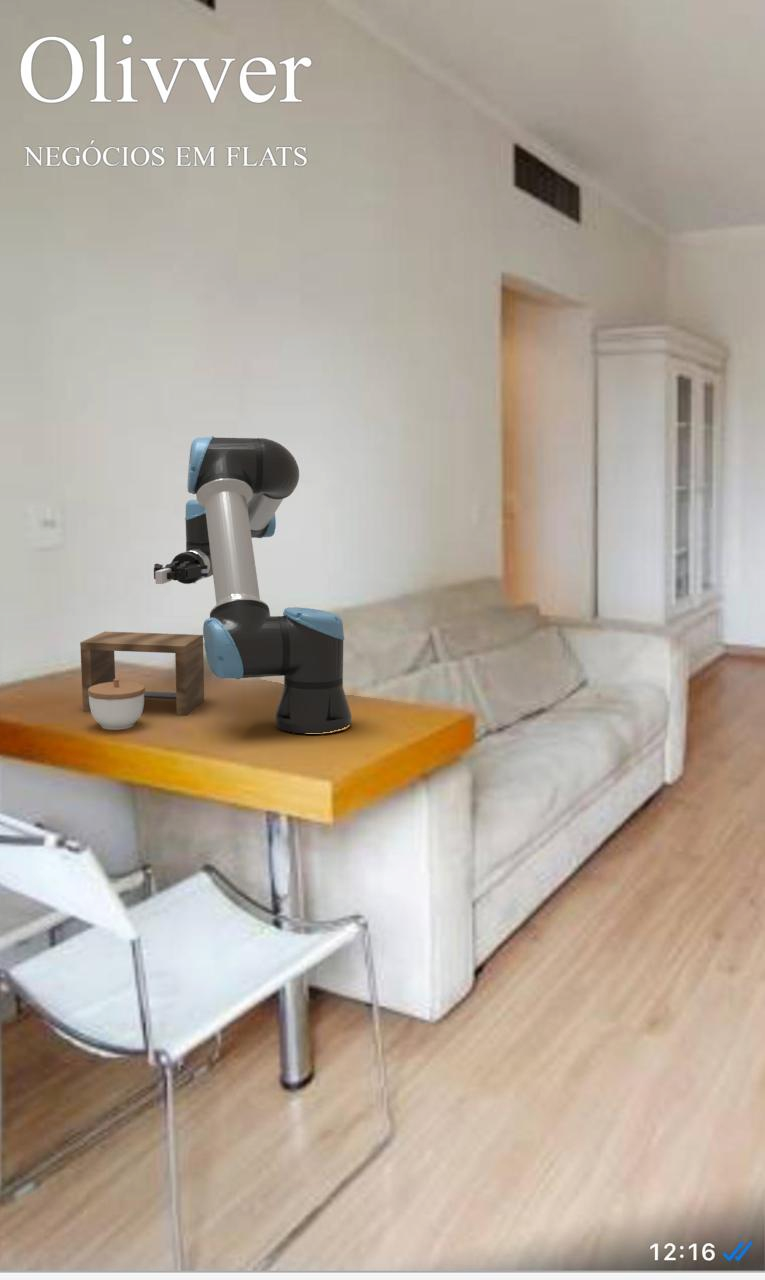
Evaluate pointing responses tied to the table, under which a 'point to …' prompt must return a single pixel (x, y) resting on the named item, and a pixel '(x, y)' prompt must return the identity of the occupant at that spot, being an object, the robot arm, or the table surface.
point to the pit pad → (160, 695)
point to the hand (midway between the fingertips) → (158, 577)
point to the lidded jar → (116, 704)
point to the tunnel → (186, 648)
